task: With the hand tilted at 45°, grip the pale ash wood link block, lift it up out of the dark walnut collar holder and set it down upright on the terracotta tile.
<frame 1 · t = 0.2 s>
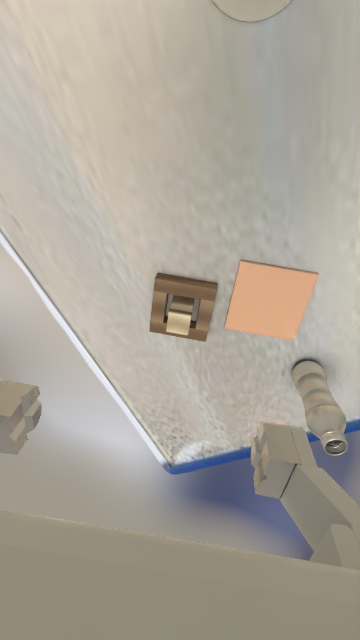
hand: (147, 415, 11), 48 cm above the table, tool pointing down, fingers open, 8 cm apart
plastic bottle: (305, 368, 66), on the table
walnut collar holder: (183, 304, 62), on the table
terracotta tile: (267, 300, 60), on the table
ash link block: (180, 313, 59), in the walnut collar holder
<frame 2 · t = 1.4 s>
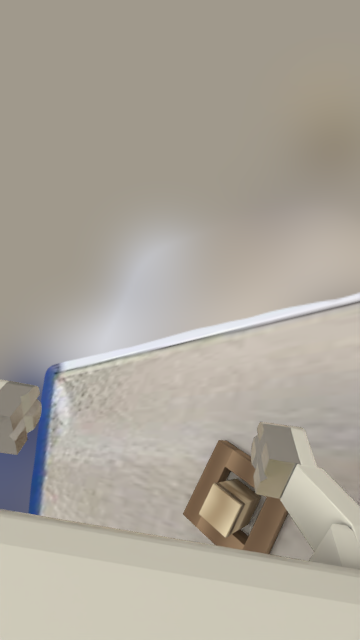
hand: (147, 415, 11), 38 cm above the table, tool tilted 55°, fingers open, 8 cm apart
walnut collar holder: (242, 500, 44), on the table
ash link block: (231, 504, 41), in the walnut collar holder
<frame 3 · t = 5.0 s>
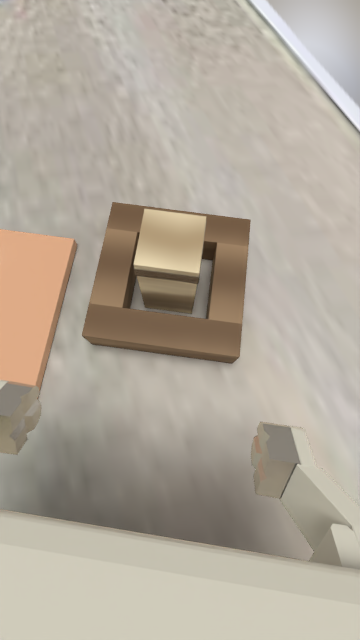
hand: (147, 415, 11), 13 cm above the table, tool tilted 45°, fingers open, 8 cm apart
walnut collar holder: (171, 288, 27), on the table
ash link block: (171, 268, 23), in the walnut collar holder
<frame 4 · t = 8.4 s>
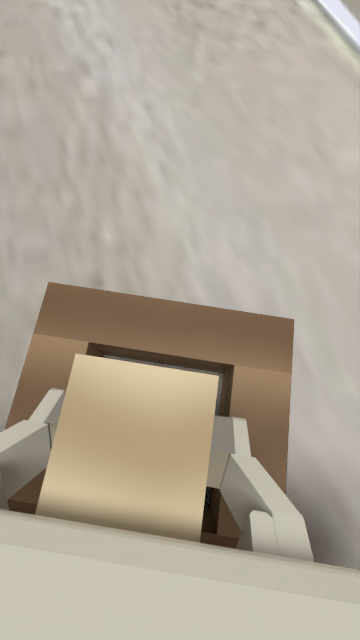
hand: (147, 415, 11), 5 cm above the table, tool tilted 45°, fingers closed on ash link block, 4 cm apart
walnut collar holder: (152, 427, 16), on the table
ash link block: (145, 432, 12), in the walnut collar holder, touching gripper
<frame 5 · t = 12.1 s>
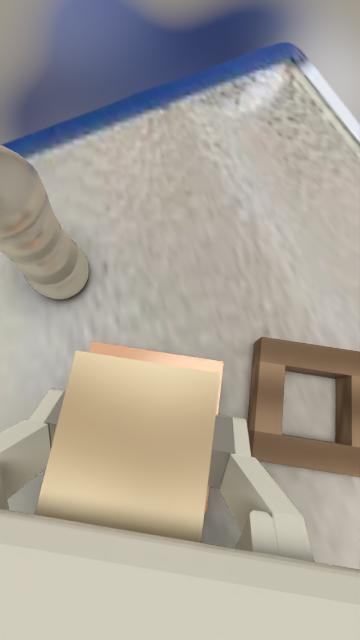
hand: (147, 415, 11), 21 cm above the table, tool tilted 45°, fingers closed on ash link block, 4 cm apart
plastic bottle: (65, 278, 36), on the table
walnut collar holder: (304, 405, 32), on the table
terracotta tile: (146, 420, 32), on the table
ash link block: (146, 430, 12), point 21 cm above the table, touching gripper
when the fingers open (7 cm above the table, at t = 15.9 s): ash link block drops 2 cm, resting on terracotta tile.
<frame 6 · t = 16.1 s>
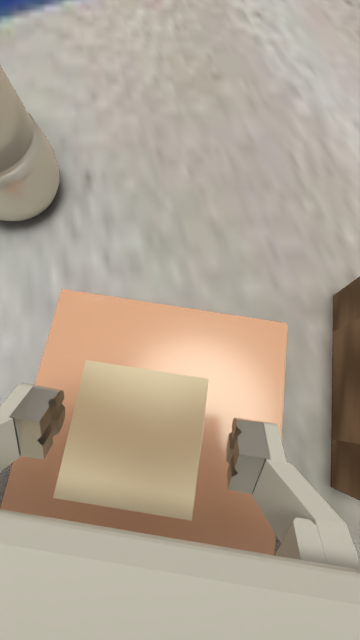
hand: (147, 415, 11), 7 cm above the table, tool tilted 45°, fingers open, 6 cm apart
plastic bottle: (24, 195, 22), on the table
terracotta tile: (154, 424, 18), on the table
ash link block: (146, 428, 13), on the terracotta tile, point 5 cm above the table
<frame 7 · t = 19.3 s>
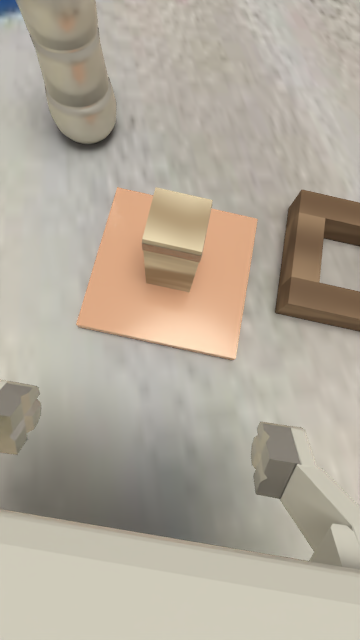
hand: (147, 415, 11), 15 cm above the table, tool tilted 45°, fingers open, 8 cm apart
plastic bottle: (89, 129, 33), on the table
walnut collar holder: (338, 270, 31), on the table
terracotta tile: (172, 272, 30), on the table
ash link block: (174, 247, 25), on the terracotta tile, point 5 cm above the table
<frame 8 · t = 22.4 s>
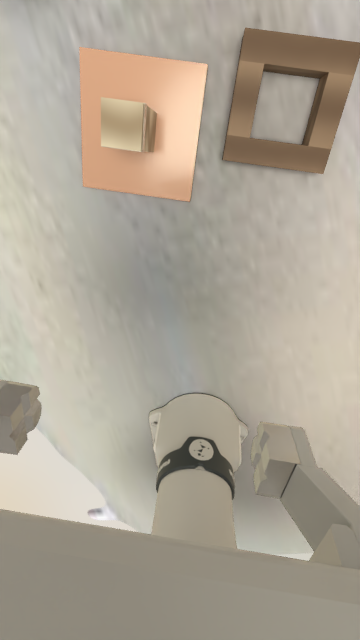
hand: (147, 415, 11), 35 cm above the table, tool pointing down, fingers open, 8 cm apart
walnut collar holder: (281, 110, 35), on the table
terracotta tile: (141, 131, 38), on the table
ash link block: (131, 128, 33), on the terracotta tile, point 5 cm above the table
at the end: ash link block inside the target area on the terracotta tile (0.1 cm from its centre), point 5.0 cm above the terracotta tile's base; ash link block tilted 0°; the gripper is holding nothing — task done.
